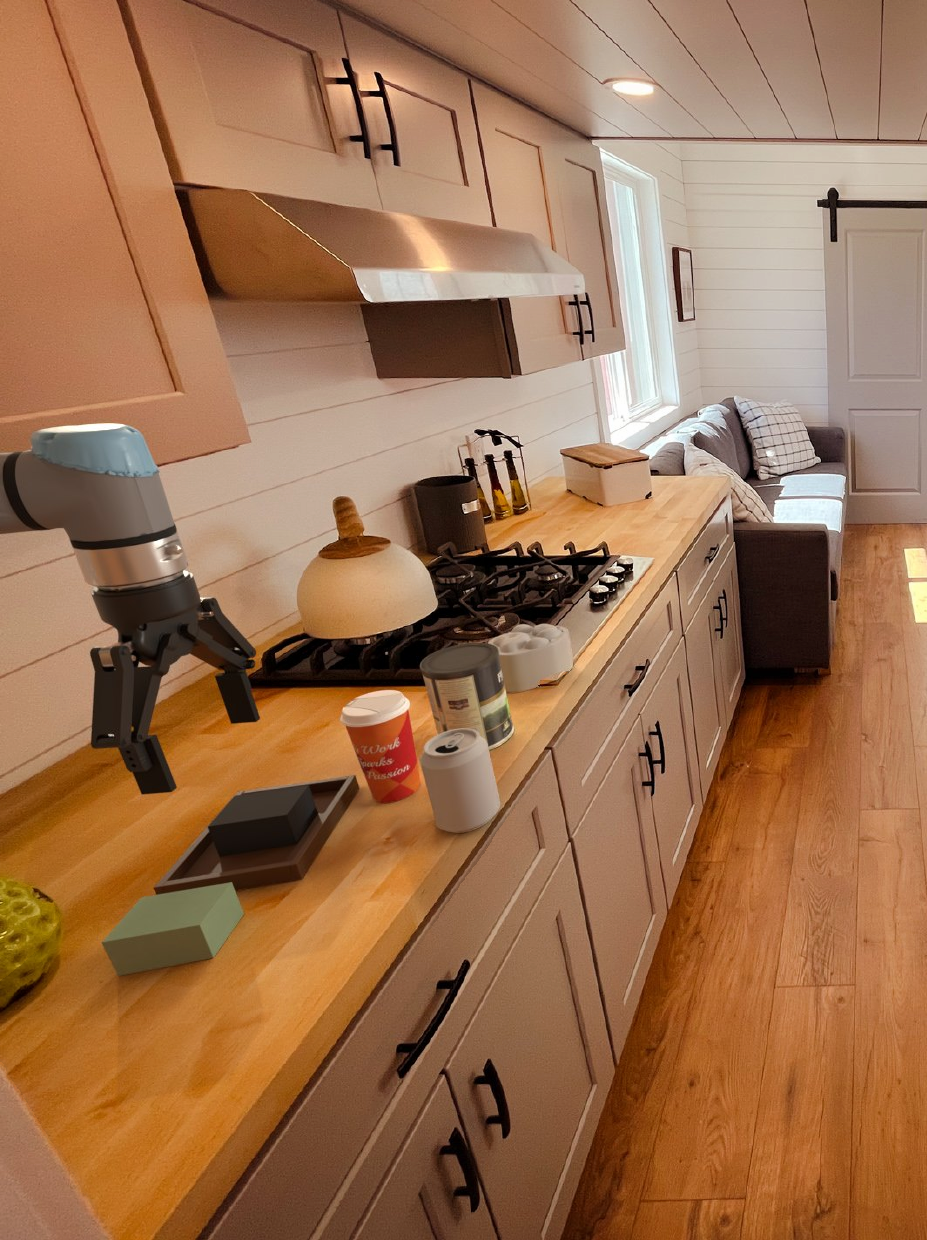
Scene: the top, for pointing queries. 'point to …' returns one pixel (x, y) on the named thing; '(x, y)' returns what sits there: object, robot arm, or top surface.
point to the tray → (268, 864)
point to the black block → (263, 820)
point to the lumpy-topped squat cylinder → (532, 655)
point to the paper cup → (384, 743)
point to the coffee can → (468, 691)
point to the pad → (173, 929)
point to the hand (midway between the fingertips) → (206, 753)
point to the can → (460, 780)
